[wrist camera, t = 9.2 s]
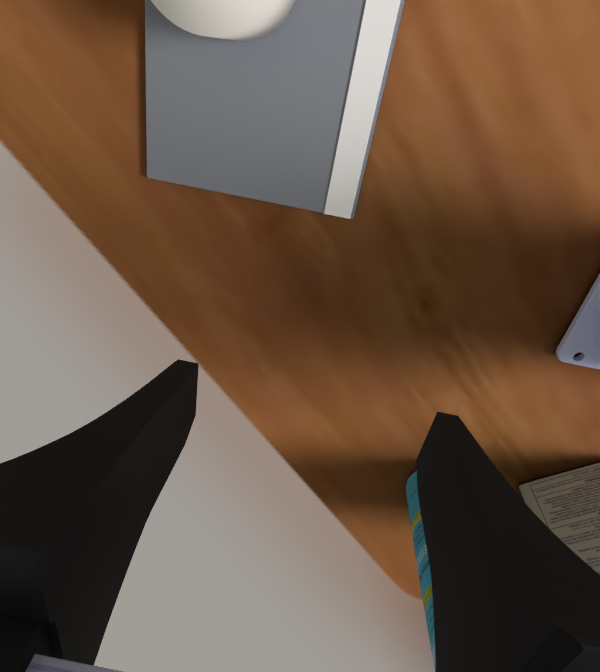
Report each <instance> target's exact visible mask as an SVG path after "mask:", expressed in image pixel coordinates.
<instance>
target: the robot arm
mask: <svg viewBox="0 0 600 672" xmlns="http://www.w3.org/2000/svg"><path fill="white" fill-rule="evenodd" d="M579 352H581V354H580V355H579V356H577V357H573V356H574V355H575V354H576V353H579ZM556 356H557V357H558V359H559V360H560V361H562V362H565V363H570V364H575V365H580V366H585V367H590V368H595V369H600V274H599V275H598V277H597V279H596V281H595V282H594V284H593V286H592V288H591V289H590V291H589V293H588V295H587V296H586V298H585V300H584V302H583V304H582V305H581V307H580V309H579V311H578V312H577V314H576V316H575V318H574V319H573V321H572V323H571V325H570V326H569V328H568V330H567V332H566V333H565V335H564V337H563V339H562V340H561V342H560V344H559V346H558V348H557V349H556ZM197 380H198V363H193V362H187V361H183V360H177V361H176V362H174V363H173V364H172V365H170V366H169V367H168V368H167V369H165V370H164V371H163V372H162V373H160V374H159V375H158V376H157V377H155V378H154V379H153V380H151V381H150V382H149V383H148V384H146V385H145V386H144V387H142V388H141V389H140V390H138V391H137V392H135V393H134V394H133V395H131V396H130V397H129V398H127V399H126V400H124V401H123V402H121V403H120V404H118V405H117V406H116V407H114V408H112V409H111V410H109V411H108V412H107V413H105V414H103V415H102V416H100V417H98V418H97V419H95V420H94V421H92V422H90V423H88V424H87V425H85V426H83V427H82V428H79V429H78V430H76V431H74V432H72V433H70V434H69V435H66V436H64V437H62V438H60V439H58V440H56V441H53V442H52V443H49V444H47V445H45V446H43V447H41V448H38V449H36V450H34V451H32V452H29V453H27V454H24V455H22V456H19V457H17V458H14V459H12V460H9V461H6V462H4V463H1V464H0V672H122V671H117V670H112V669H107V668H102V667H98V666H93V665H94V662H95V659H96V656H97V654H98V650H99V648H100V645H101V642H102V639H103V636H104V633H105V630H106V627H107V624H108V622H109V619H110V616H111V613H112V610H113V608H114V605H115V602H116V599H117V597H118V594H119V591H120V588H121V586H122V583H123V580H124V578H125V574H126V572H127V569H128V567H129V564H130V561H131V559H132V556H133V554H134V551H135V548H136V546H137V543H138V541H139V538H140V536H141V533H142V531H143V528H144V526H145V523H146V521H147V518H148V517H149V514H150V512H151V510H152V508H153V506H154V504H155V502H156V500H157V498H158V496H159V494H160V492H161V490H162V488H163V486H164V484H165V483H166V481H167V479H168V476H169V475H170V473H171V471H172V469H173V467H174V465H175V463H176V461H177V459H178V457H179V455H180V453H181V451H182V449H183V447H184V445H185V443H186V440H187V437H188V434H189V432H190V429H191V426H192V423H193V421H194V418H195V413H196V397H197ZM417 491H418V498H419V505H420V511H421V517H422V523H423V529H424V535H425V541H426V547H427V553H428V558H429V565H430V573H431V581H432V596H433V612H434V633H435V661H436V672H600V574H598V573H597V572H596V571H595V570H594V569H592V568H591V567H590V566H589V565H588V564H587V563H585V562H584V561H583V560H582V559H581V558H580V557H579V556H578V555H577V554H575V553H574V552H573V551H572V550H571V549H570V548H569V547H568V546H567V545H566V544H564V543H563V542H562V541H561V540H560V539H559V538H558V537H557V536H556V535H555V534H554V533H553V532H552V531H551V530H550V529H549V528H548V527H547V526H546V525H545V524H544V523H543V522H542V521H541V520H540V519H539V518H538V517H537V515H536V514H535V513H534V512H533V511H532V510H531V509H530V508H529V507H528V506H527V505H526V504H525V502H524V501H523V500H522V499H521V498H520V497H519V495H518V494H517V493H516V492H515V491H514V489H513V488H512V487H511V486H510V485H509V484H508V482H507V481H506V480H505V479H504V477H503V476H502V475H501V474H500V472H499V471H498V470H497V468H496V467H495V466H494V464H493V463H492V462H491V460H490V459H489V458H488V456H487V455H486V454H485V452H484V451H483V450H482V448H481V447H480V446H479V444H478V443H477V441H476V440H475V439H474V437H473V436H472V434H471V433H470V432H469V430H468V429H467V427H466V426H465V425H464V423H463V422H462V421H461V419H460V418H459V417H458V416H456V415H451V414H446V413H441V412H437V414H436V416H435V419H434V421H433V423H432V426H431V428H430V430H429V432H428V435H427V437H426V439H425V442H424V444H423V446H422V448H421V451H420V453H419V455H418V458H417Z"/></svg>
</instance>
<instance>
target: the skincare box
mask: <svg viewBox="0 0 600 672" xmlns="http://www.w3.org/2000/svg"><path fill="white" fill-rule="evenodd" d="M519 489H520V492H521V494H522V497H523V499H524V502H525V504H526V505H527V506H528V507H529V508H530V509H531V510H532V511H533V512H534V513H535V514H536V515H537V517H538V518H539V519H540V520H541V521H542V522H543V523H544V524H545V525H546V526H547V527H548V528H549V529H550V530H551V531H552V532H553V533H554V534H555V535H556V536H557V537H558V538H559V539H560V540H561V541H562V542H563V543H564V544H566V545H567V546H568V547H569V548H570V549H571V550H572V551H573V552H574V553H575V554H577V555H578V556H579V557H580V558H581V559H582V560H583V561H584V562H585V563H587V564H588V565H589V566H590V567H591V568H592V569H594V570H595V571H596V572H597V573H598V574H600V463H596V464H593V465H589V466H585V467H582V468H578V469H575V470H571V471H567V472H564V473H560V474H556V475H553V476H549V477H546V478H542V479H539V480H535V481H532V482H529V483H525V484H522V485H520V486H519Z"/></svg>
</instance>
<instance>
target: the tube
mask: <svg viewBox="0 0 600 672" xmlns="http://www.w3.org/2000/svg"><path fill="white" fill-rule="evenodd" d="M406 494H407V502H408V509H409V516H410V522H411V529H412V536H413V542H414V548H415V555H416V561H417V567H418V573H419V579H420V586H421V591H422V597H423V603H424V610H425V615H426V621H427V627H428V632H429V638H430V644H431V650H432V656H433V661H434V667H435V672H436V661H435V633H434V612H433V596H432V581H431V573H430V565H429V558H428V553H427V547H426V541H425V535H424V529H423V523H422V517H421V511H420V505H419V498H418V491H417V470H416V471H415V472H414V473H413V474H412V475H411V476H410V477H409V479H408V481H407V484H406Z"/></svg>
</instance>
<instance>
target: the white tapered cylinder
mask: <svg viewBox="0 0 600 672" xmlns="http://www.w3.org/2000/svg"><path fill="white" fill-rule="evenodd" d="M151 1H152V3H153V4H154V5H155V7H156V8H157V9H158V10H159V11H160V12H161V13H162V14H163V15H164V16H165V17H166V18H167V19H168V20H170V21H171V22H172V23H173V24H175V25H177V26H178V27H180V28H181V29H183V30H185V31H188V32H190V33H193V34H196V35H200V36H206V37H213V38H220V39H227V40H234V41H242V42H245V41H254V40H258V39H261V38H264V37H266V36H267V35H269V34H271V33H272V32H274V31H275V30H276V29H278V28H279V26H280V25H281V24H282V23H283V22H284V21H285V20H286V18H287V17H288V16H289V14H290V12H291V10H292V9H293V7H294V4H295V2H296V0H151Z"/></svg>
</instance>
